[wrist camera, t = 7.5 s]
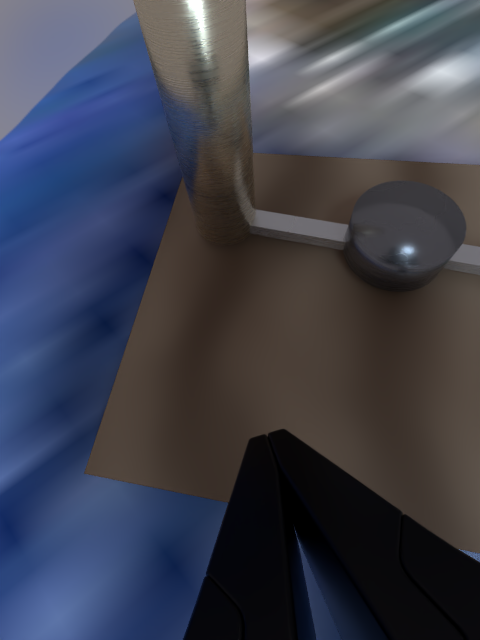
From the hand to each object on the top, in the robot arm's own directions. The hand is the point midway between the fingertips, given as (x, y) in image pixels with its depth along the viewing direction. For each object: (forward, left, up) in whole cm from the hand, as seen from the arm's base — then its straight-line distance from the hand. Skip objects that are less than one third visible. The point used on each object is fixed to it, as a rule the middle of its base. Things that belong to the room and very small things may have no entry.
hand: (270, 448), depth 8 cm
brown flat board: (-5, -7, -7) cm, 11 cm away
